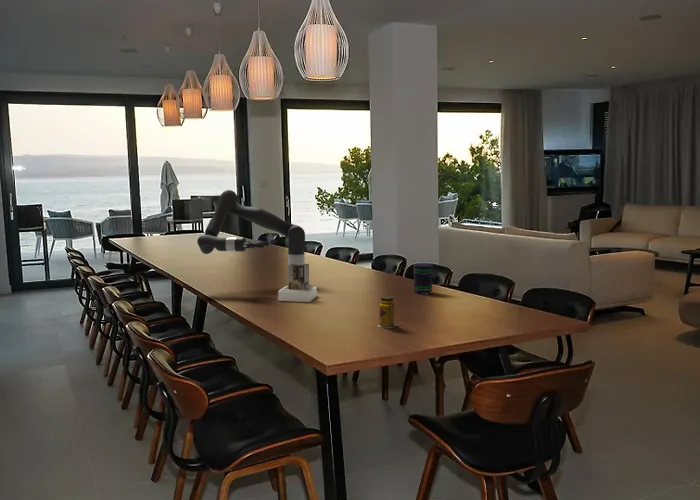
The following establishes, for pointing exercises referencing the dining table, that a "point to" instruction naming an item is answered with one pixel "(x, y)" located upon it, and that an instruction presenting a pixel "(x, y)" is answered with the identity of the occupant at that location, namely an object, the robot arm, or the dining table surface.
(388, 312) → the condiment
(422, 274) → the storage jar
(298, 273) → the coffee box
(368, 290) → the dining table surface
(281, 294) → the white square tray
